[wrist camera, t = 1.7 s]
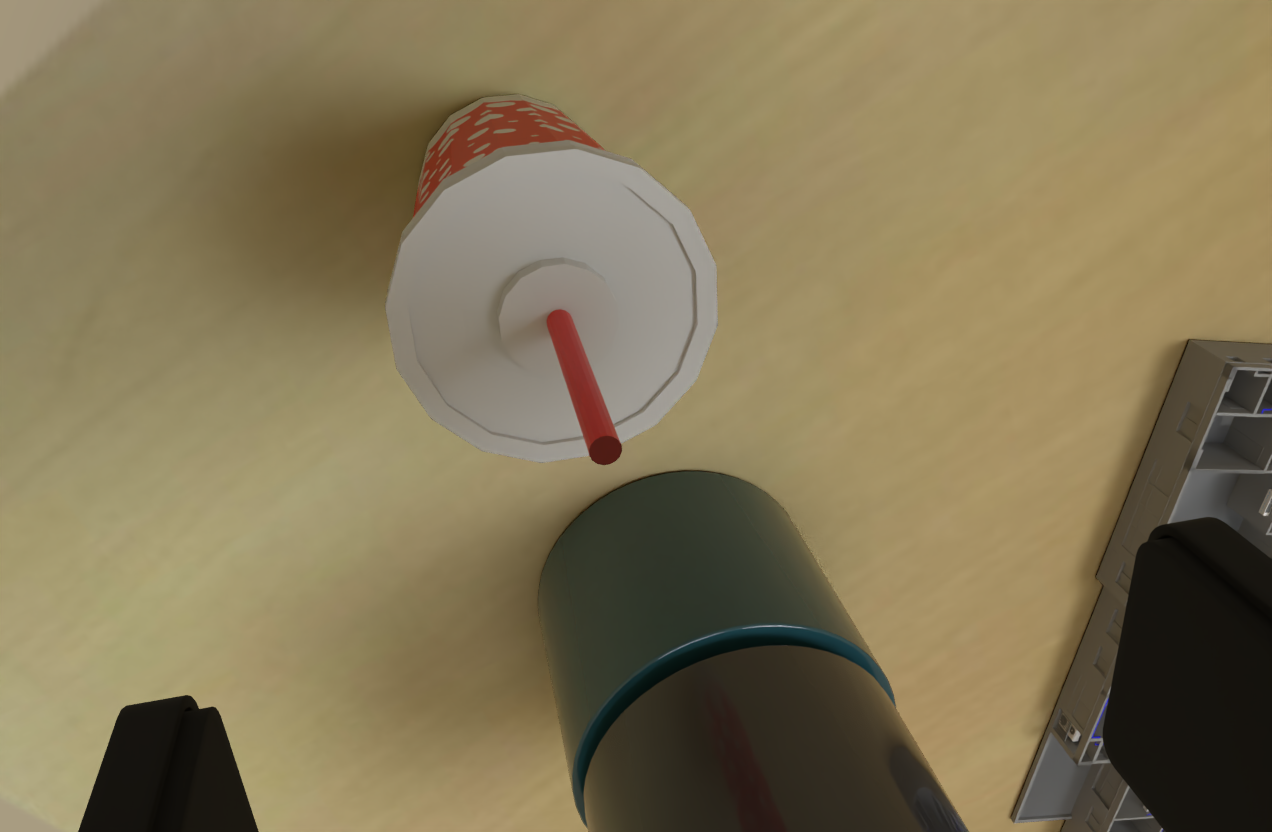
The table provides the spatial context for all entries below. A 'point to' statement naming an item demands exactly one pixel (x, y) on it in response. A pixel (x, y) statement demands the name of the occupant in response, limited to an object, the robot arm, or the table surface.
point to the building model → (1161, 494)
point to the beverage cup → (546, 287)
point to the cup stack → (720, 674)
